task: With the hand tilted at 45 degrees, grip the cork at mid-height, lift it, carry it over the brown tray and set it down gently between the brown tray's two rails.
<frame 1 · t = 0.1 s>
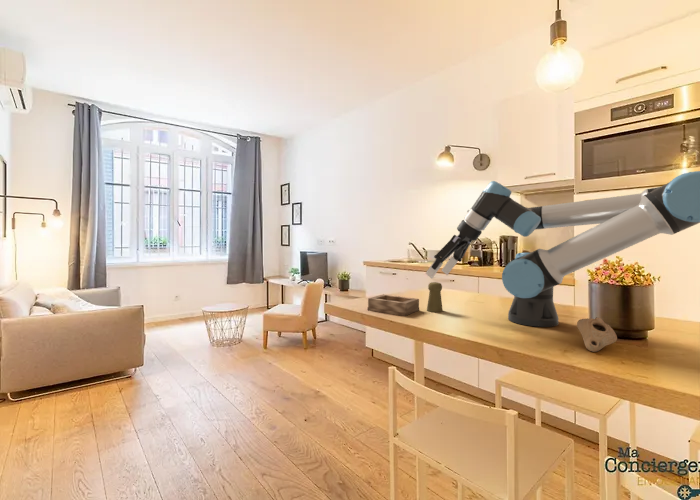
hand: (436, 274, 125), 15 cm above the counter, tool tilted 35°, fingers open, 13 cm apart
brown tray: (393, 310, 136), on the counter
pottery oil lamp: (594, 348, 92), on the counter
cork: (434, 311, 135), on the counter
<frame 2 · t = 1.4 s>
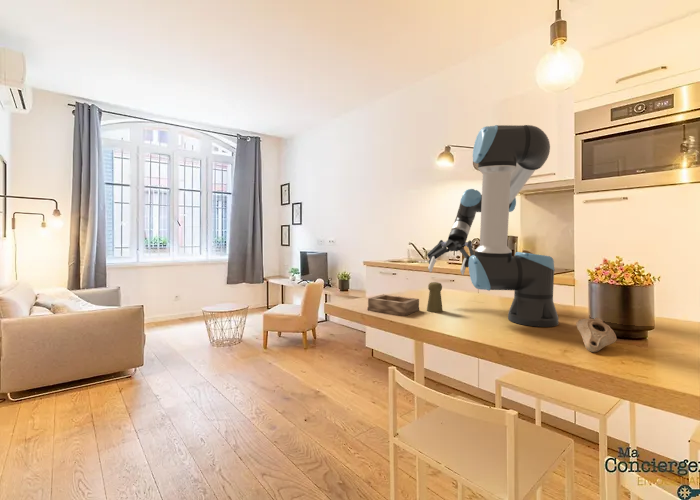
hand: (445, 271, 143), 14 cm above the counter, tool tilted 45°, fingers open, 13 cm apart
nothing on the counter moved.
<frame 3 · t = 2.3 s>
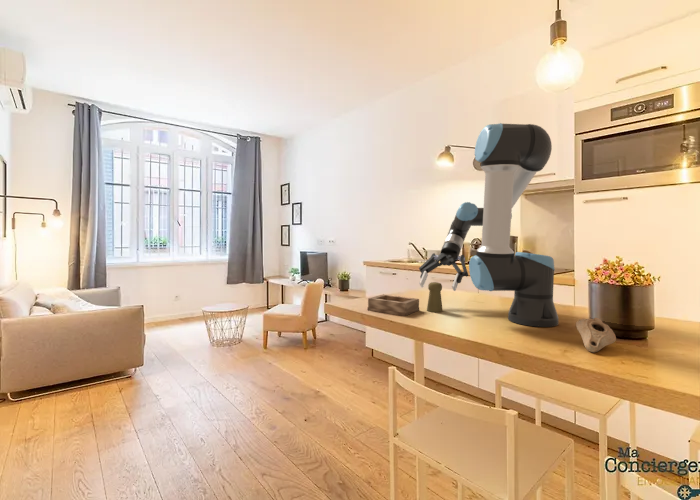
hand: (436, 287, 138), 9 cm above the counter, tool tilted 45°, fingers open, 13 cm apart
nothing on the counter moved.
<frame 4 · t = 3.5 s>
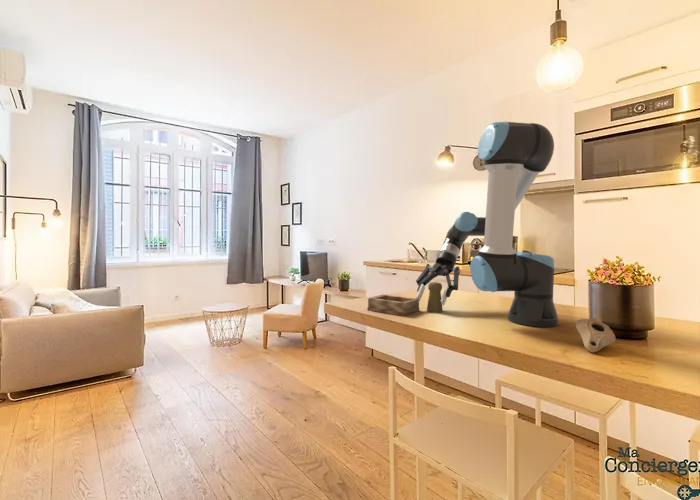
hand: (429, 301, 133), 4 cm above the counter, tool tilted 45°, fingers open, 9 cm apart
nothing on the counter moved.
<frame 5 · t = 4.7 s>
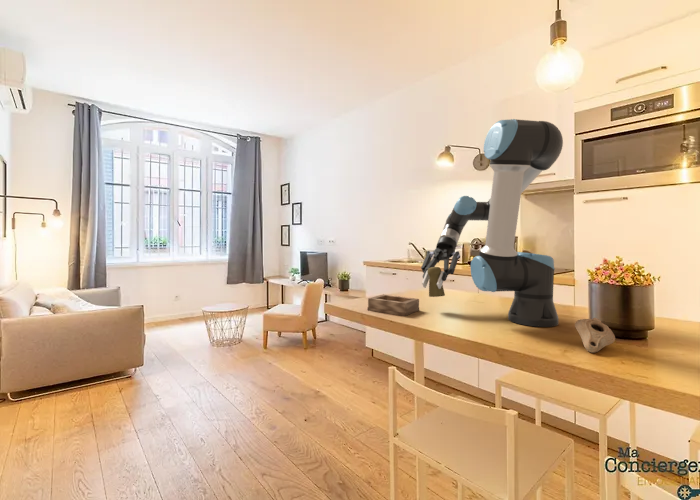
hand: (431, 285, 132), 10 cm above the counter, tool tilted 45°, fingers closed on cork, 5 cm apart
cork: (436, 296, 134), point 6 cm above the counter, touching gripper
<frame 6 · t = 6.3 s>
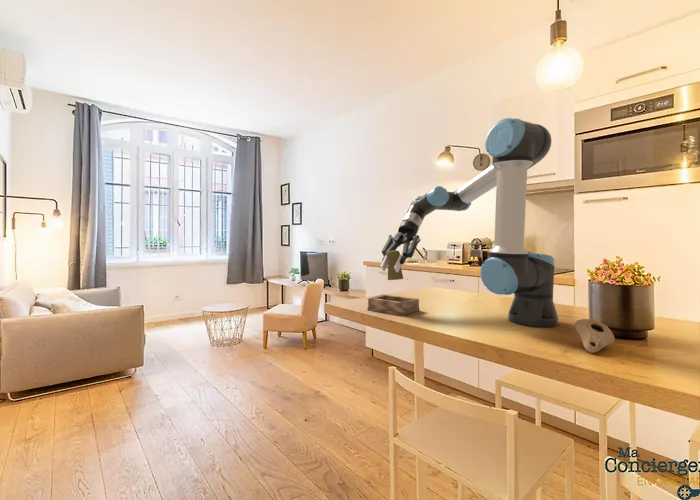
hand: (389, 269, 132), 16 cm above the counter, tool tilted 45°, fingers closed on cork, 5 cm apart
cork: (395, 279, 134), point 12 cm above the counter, touching gripper
when the fingers open (6 cm above the counter, at t = 8.4 s): cork stays where it is, resting on brown tray.
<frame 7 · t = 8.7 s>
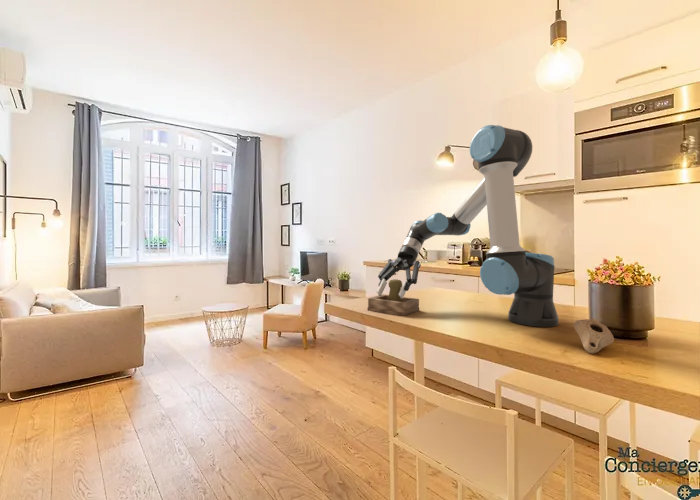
hand: (389, 295, 133), 6 cm above the counter, tool tilted 45°, fingers open, 9 cm apart
cork: (395, 308, 134), point 1 cm above the counter, touching brown tray
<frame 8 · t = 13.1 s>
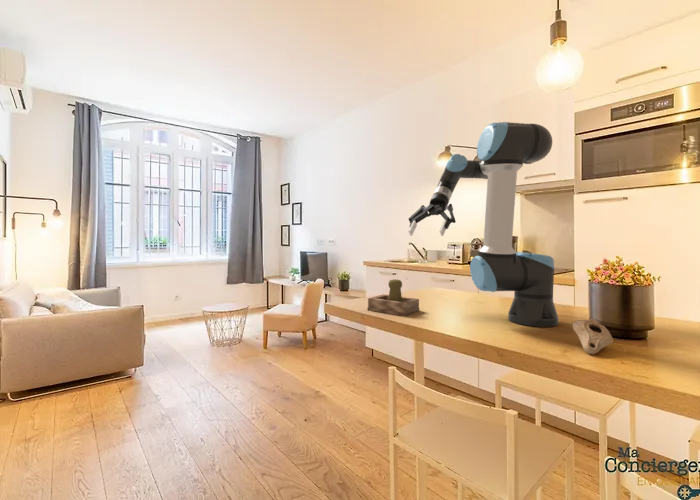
hand: (425, 233, 142), 30 cm above the counter, tool tilted 45°, fingers open, 13 cm apart
at the end: cork inside the target area on the brown tray (1.1 cm from its centre), point 0.8 cm above the brown tray's base; cork tilted 0°; the gripper is holding nothing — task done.
